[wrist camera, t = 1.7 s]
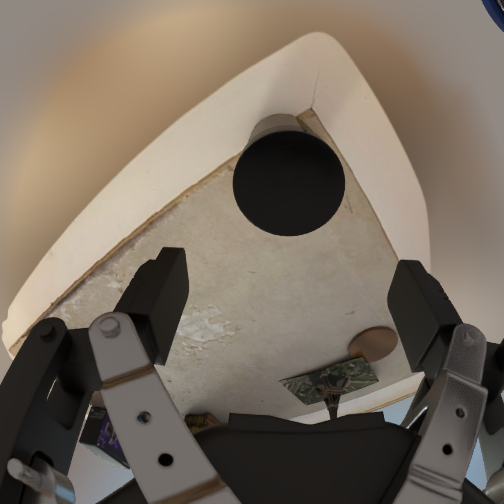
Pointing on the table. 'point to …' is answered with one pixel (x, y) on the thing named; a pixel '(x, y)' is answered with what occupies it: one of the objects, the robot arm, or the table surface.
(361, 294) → the table surface
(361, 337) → the coaster
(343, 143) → the table surface
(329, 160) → the lid
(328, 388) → the eiffel tower figurine
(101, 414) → the box
